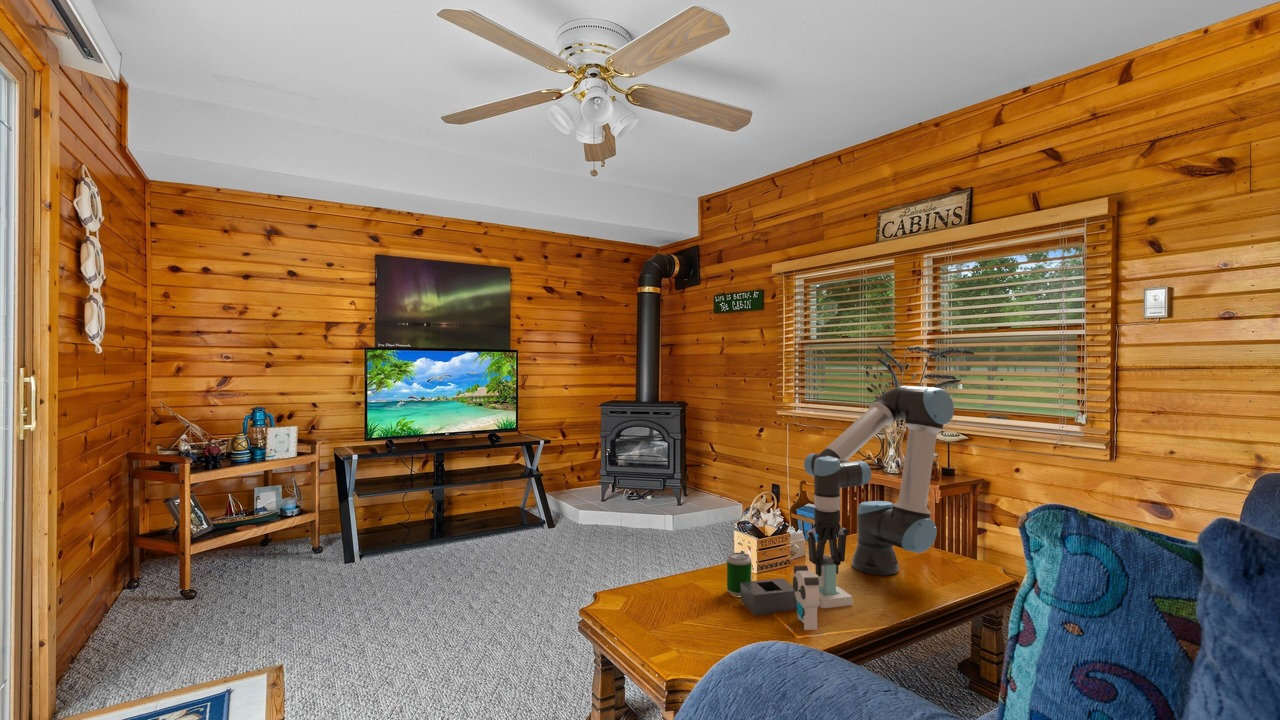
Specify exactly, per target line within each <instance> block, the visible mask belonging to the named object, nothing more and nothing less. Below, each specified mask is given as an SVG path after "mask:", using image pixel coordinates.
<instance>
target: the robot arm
mask: <svg viewBox="0 0 1280 720" xmlns="http://www.w3.org/2000/svg"><path fill="white" fill-rule="evenodd" d="M954 412H955V407H954V402H953V399H952V397H951V395H950V394H949V393H948V391H946V390H944V389H943V388H938V387H933V386H932V387H931V386H913V385H900V386H896V387H894V388H892V389H890V390H888V391H886V392H884V393H883V394H881V395H879V396H878V397H877V398H876V399H875V400H873V401H872V402H871V403H870V404H869V406H868V409H867V410H866V412H864V413H863V414H862V415H861V416H860V417H859V418H858V419H857V420H855V421H854V422H853V423H851V425H850V426H849V427H847V428H846V429H845V430H844V431H843V432H842V433H840V435H839V436H838V437H836V438H835V439H834V440H833V441H832V442H831V443H830V444H829V445H828V446H826V447H825V448H824V449H823V450H822V451H821V452H819V453H810V454H808V455H807V456H806V457H805V459H804V463H803V468H804V470H805V472H806V474H807V475H810V476H811V477H813V479H814V480H813V483H814V485H813V488H814V489H813V490H814V492H813V493H814V495H813V496H814V497H813V498H814V502H813V503H814V506H813V507H814V511H813V516H814V519H813V520H814V524H813V527H812V529H810V530H808V529H807V530H805V534H806V538H807V545H808V546H807V547H808V548H807V549H808V559H809V562H811V563H812V564H813V565H815V566H814V567H815V571H814V574H815V576H817V577H818V579H819V586H821V587H822V588H824V587H825V566H824V565H822V563H823V556H824V555H825V549H826V548H825V547H826V544H827V541H828V546H829V551H830V552H829V553H830V557H831V558H833V563H834V564H835V565H836V575H838V574H839V566H840V565H841V564H842V563H841V562H845V558H846V546H847V545H846V543H847V537H848V534H849V530H848V529H847V528H845V527H842V526H841V524H840V522H841V512H840V508H841V488H849V487H860V486H863V485H866V484H869V483H870V481H871V480H872V479H871V478H872V470H871V467H870V465H869V464H868V463H867V462H866V461H865V460H864V461H863V460H855V459H854V460H851V461H850V460H849V459H850V458H852V457H853V455H855V454H856V453H857V452H858V451H859V450H860V449H862V447H864V446H865V445H866V444H867V443H868V442H869V441H870V440H871V439H872V438H874V437H875V435H876V434H878V433H879V432H880V431H881V430H882V429H883V428H884V427H885V426H890V425H892V424H893V423H894V422H896V421H899V420H904V425H905V426H906V427H907V429H908V432H907V433H908V434H907V440H906V441H907V442H906V447H905V453H904V454H905V455H904V460H903V461H904V462H903V469H902V475H901V480H900V481H901V482H900V488H899V496H898V500H897V501H896V502H895V503H892V502H891V501H885V500H873V501H872V500H871V501H870V500H869V501H864V502H861V503H859V504H858V507H857V514H856V519H857V520H856V521H857V523H856V524H857V545H856V547H855V551H854V553H853V556H852V561H851V564H852V567H853V569H855V570H857V571H859V572H861V573H865V574H869V575H875V576H891V575H896V574H897V573H898V572H899V562H898V559H897V554H896V552H895V549H894V546H895V547H897V548H899V549H902V550H905V551H907V552H913V553H916V554H921V553H925V552H926V551H928V549H930V548H932V546H933V545H934V543H935V541H936V538H937V532H938V531H937V527H936V523H935V522H934V521H933V520H932V519H931V514H932V512H931V511H930V509H929V508H928V507H927V505H928V501H929V500H928V498H929V494H930V493H929V492H930V486H931V485H930V484H931V479H932V478H931V477H932V470H933V464H934V457H935V450H936V443H937V435H938V434H939V433H941V432H942V431H943V430H944V425H946V424H948V423H949V422H951V420H952V419H953V416H954V414H955V413H954ZM837 535H838V536H837ZM816 536H817V538H816ZM837 537H838V538H837ZM816 541H817V543H816Z"/></svg>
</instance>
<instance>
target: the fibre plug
mask: <svg viewBox="0 0 1280 720" xmlns="http://www.w3.org/2000/svg"><path fill="white" fill-rule="evenodd" d="M822 565H824V566H825V587H824V588H822V587H821V586H819V592H821V593H822V594H823V595H825V596H828V595H836V586H837V574H836V565H835V564H834V563H833V558H831V556H829V555H828V554H826V555H825V554H824V556H823V563H822Z"/></svg>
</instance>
